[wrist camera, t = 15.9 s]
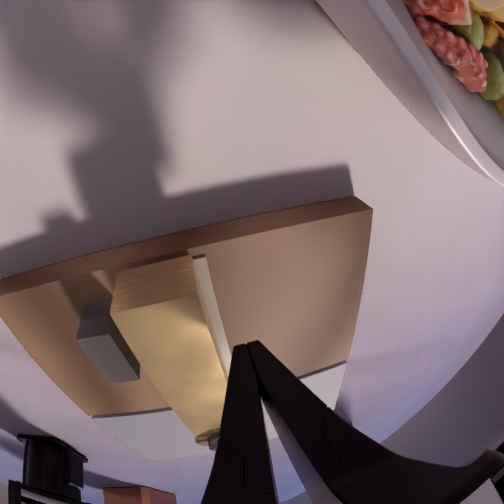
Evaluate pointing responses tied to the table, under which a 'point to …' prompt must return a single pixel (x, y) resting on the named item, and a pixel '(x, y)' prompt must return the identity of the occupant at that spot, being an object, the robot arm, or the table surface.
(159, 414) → the board
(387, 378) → the table surface
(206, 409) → the swing bar
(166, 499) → the whiskey bottle
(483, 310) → the table surface
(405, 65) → the bowl
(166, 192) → the table surface
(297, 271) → the door board
